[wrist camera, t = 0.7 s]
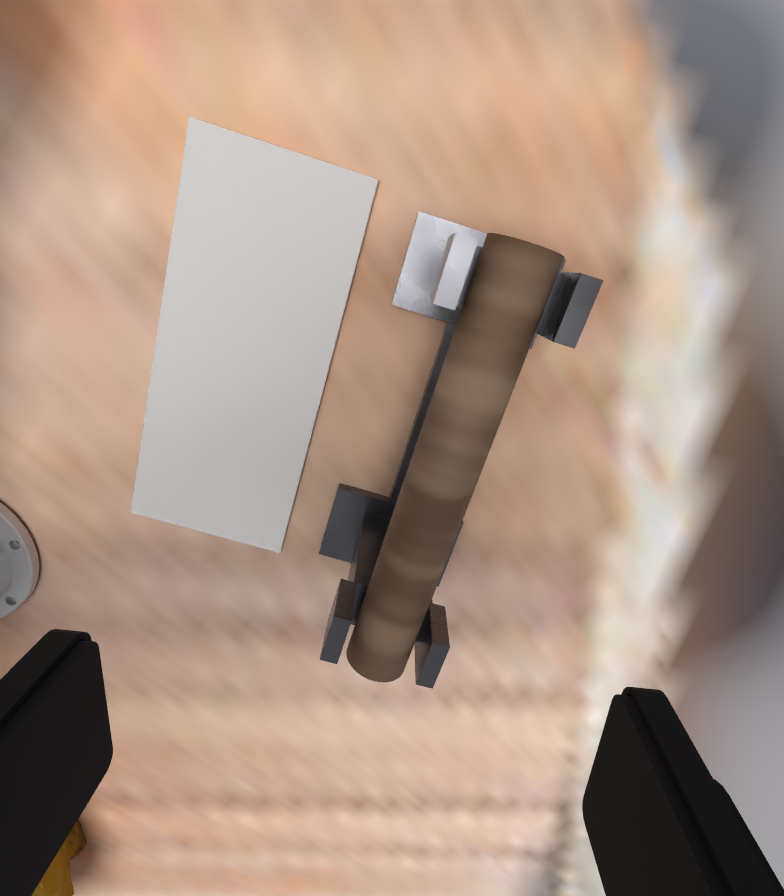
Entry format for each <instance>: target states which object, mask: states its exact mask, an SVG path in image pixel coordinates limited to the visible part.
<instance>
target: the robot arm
mask: <svg viewBox="0 0 784 896" xmlns="http://www.w3.org/2000/svg"><path fill="white" fill-rule="evenodd" d="M38 576H39V560H38V553H37V551H36V548H35V545H34V542H33V540H32V538H31V536H30V535H29V533H28V531H27V529H26V528H25V526H24V525H23V524H22V523H21V522H20V520H19V519H18V518H17V517H16V515H14V514H13V513H12V512H11V511H10V510H9V509H8V508H7V507H6V506H5V505H3V504H2V503H0V618H2V617H5V616H7V615H9V614H10V613H12V612H13V611H15V610H16V609H17V608H19V607H20V606H21V605H22V604H23V603H24V602H25V601H26V600H27V599H28V598H29V597H30V595H31V594H32V592H33V591H34V589H35V586H36V583H37V580H38ZM112 754H113V746H112V739H111V731H110V724H109V717H108V710H107V703H106V695H105V688H104V681H103V674H102V666H101V659H100V652H99V646H98V644H97V643H96V642H93V641H92V640H91V637H90V635H89V634H88V633H87V632H80V631H70V630H60V629H54V630H51V631H49V632H48V633H47V634H45V635H44V636H43V637H42V638H41V639H40V640H39V641H38V642H37V643H36V644H35V645H34V646H33V647H32V648H31V649H30V650H29V651H28V652H27V653H26V654H25V655H24V656H23V657H22V658H21V659H20V660H19V661H18V662H17V663H16V664H15V665H14V666H13V668H12V669H11V670H10V671H9V672H8V673H7V674H6V675H5V676H4V677H3V678H2V679H1V680H0V896H32V894H33V892H34V891H35V889H36V887H37V886H38V884H39V882H40V881H41V879H42V878H43V876H44V874H45V873H46V871H47V869H48V868H49V866H50V864H51V863H52V861H53V859H54V858H55V856H56V854H57V853H58V851H59V850H60V848H61V846H62V845H63V843H64V841H65V840H66V838H67V836H68V835H69V833H70V831H71V830H72V828H73V827H74V825H75V823H76V822H77V820H78V818H79V817H80V815H81V813H82V812H83V810H84V808H85V807H86V805H87V803H88V802H89V800H90V799H91V797H92V795H93V794H94V792H95V790H96V789H97V787H98V785H99V784H100V782H101V780H102V779H103V777H104V775H105V774H106V772H107V770H108V768H109V765H110V763H111V759H112ZM582 807H583V818H584V822H585V826H586V830H587V833H588V836H589V840H590V843H591V847H592V850H593V853H594V857H595V860H596V864H597V867H598V870H599V874H600V877H601V881H602V884H603V887H604V891H605V894H606V896H784V889H783V888H782V886H781V884H780V882H779V881H778V879H777V877H776V875H775V874H774V872H773V870H772V869H771V867H770V865H769V863H768V861H767V860H766V858H765V856H764V855H763V853H762V851H761V849H760V848H759V846H758V844H757V842H756V841H755V839H754V838H753V836H752V834H751V832H750V830H749V829H748V827H747V825H746V823H745V822H744V820H743V818H742V817H741V815H740V813H739V811H738V810H737V808H736V807H735V804H734V803H733V801H732V799H731V798H730V796H729V794H728V793H727V792H726V790H725V789H724V787H723V786H722V785H721V784H720V783H718V782H717V781H716V780H715V779H713V778H712V776H711V775H710V773H709V771H708V769H707V767H706V766H705V764H704V762H703V760H702V758H701V757H700V755H699V753H698V751H697V750H696V748H695V746H694V744H693V743H692V741H691V739H690V737H689V735H688V734H687V732H686V730H685V728H684V727H683V725H682V723H681V721H680V720H679V718H678V716H677V714H676V713H675V711H674V709H673V707H672V705H671V704H670V702H669V700H668V698H667V697H666V695H665V694H664V693H663V692H662V691H660V690H655V689H645V688H635V687H626V688H625V689H624V690H623V692H622V694H621V695H615V696H614V697H613V699H612V702H611V705H610V709H609V712H608V716H607V719H606V722H605V726H604V729H603V733H602V736H601V739H600V743H599V746H598V750H597V753H596V756H595V760H594V763H593V766H592V770H591V773H590V777H589V780H588V783H587V787H586V790H585V794H584V797H583V806H582Z"/></svg>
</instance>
